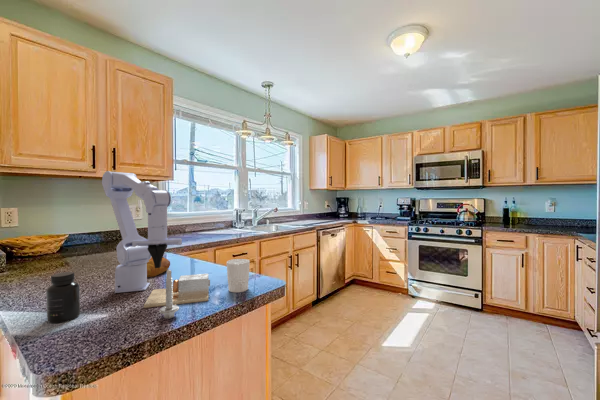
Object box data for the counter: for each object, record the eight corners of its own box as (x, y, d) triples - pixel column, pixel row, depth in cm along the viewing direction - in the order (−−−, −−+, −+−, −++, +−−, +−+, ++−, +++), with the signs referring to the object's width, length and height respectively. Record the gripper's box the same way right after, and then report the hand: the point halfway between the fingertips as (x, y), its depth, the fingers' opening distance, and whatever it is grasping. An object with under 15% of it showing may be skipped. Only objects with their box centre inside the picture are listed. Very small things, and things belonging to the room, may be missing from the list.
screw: (173, 320, 73) (155, 320, 73) (182, 313, 78) (165, 312, 78) (173, 271, 73) (155, 271, 73) (181, 267, 78) (165, 266, 78)
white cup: (253, 287, 100) (253, 259, 100) (242, 294, 93) (242, 264, 93) (234, 285, 103) (234, 258, 103) (222, 291, 95) (222, 262, 95)
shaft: (172, 294, 88) (172, 282, 88) (174, 290, 92) (174, 278, 92) (210, 290, 92) (209, 278, 92) (210, 287, 96) (210, 275, 96)
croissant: (175, 273, 127) (176, 255, 129) (156, 278, 112) (158, 258, 113) (144, 272, 128) (146, 254, 129) (121, 277, 113) (124, 257, 114)
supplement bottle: (60, 313, 78) (59, 270, 78) (86, 312, 78) (85, 270, 78) (39, 324, 71) (38, 277, 71) (67, 323, 72) (67, 277, 72)
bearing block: (143, 307, 82) (143, 287, 82) (153, 292, 95) (153, 275, 95) (208, 300, 87) (208, 281, 87) (208, 287, 100) (208, 270, 100)
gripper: (129, 228, 86) (129, 272, 86) (179, 227, 90) (179, 268, 90) (135, 226, 93) (135, 266, 93) (182, 224, 97) (182, 263, 97)
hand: (157, 267), depth 92 cm, fingers closed
